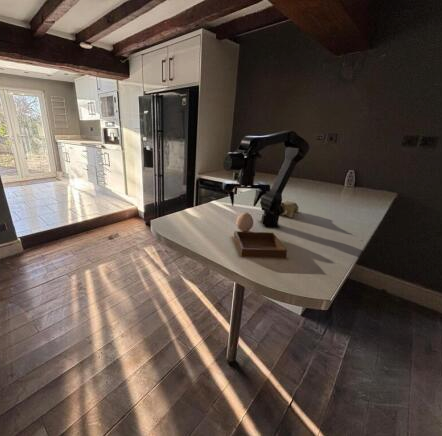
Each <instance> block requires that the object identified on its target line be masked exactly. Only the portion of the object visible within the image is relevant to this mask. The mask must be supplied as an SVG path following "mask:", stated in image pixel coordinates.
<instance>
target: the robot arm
mask: <svg viewBox="0 0 442 436" xmlns="http://www.w3.org/2000/svg"><path fill="white" fill-rule="evenodd" d="M278 144H283V146H284V148H285V151H284V156H285V159H284V162H283V163H282V166H281V168H280V169H279V171H278V174H277V176H276V178H275V180H274V181H273V184H272V186H271V185H270V184H269V183H268V182H267V181H257V183H254V182H255V176H256V168H257V161H258V159H261V158H262V157H263V156H262V155H261V154H260V153H259V152H261V151H263V150H264V149H265V148H267V147H270V146H274V145H278ZM309 150H310V144H309V142H308V141H307V140H306V139H305V138H303V137H302V136H301V135H299V134H298V133H297V132H296V131H294V130H291V129H285V130H282V131H278V132H274V133H270V134H265V135H245V136H244V137H243V138H242V140H241V142H240V143H239V145H238V147H237V148H236V150H235V151H234V152H227V154H226V156H225V157H224V159H223V161H222V166H223V169H224V171H226V172H230V171H239V172H233V175H232V180H233V181H236V183H234V182H233V181H232V180H224V181H223V182H222V184H221V185H222V186H221V188H222V190H223V191H225V192H226V193H227V194H228V195H229V199H230V203H231V206H232V207H234V205H235V204H234V203H235V191H234V189H246V190H247V189H249V190H251V189H252V190H253V189H254V190H255V195H254V200H253V207H256V205H257V204H258V203H259V204H260V207H261V211H263V213H262V214H261V220H260V223H261V224H262V225H263V227H265V228H279V227H280V226H279V219H280V216H282V215H283V214H284V213H283V212H284V209H283V208H282V207H281V203H283V192H284V190H285V189H286V186H287V184H288V182H289V180H290V178H291V176H292V174H293V172H294V170H295V168H296V166H297V164H298V163H299V162H300V161H302V160H304V158H305V157H306V156H307V154H308V152H309Z"/></svg>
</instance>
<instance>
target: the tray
mask: <svg viewBox="0 0 442 436" xmlns="http://www.w3.org/2000/svg"><path fill="white" fill-rule="evenodd" d="M233 240H234V242H235V245H236V247H237V249H238V252H239V254H240V255H239V256H240V257H243V258H244V257H245V258H265V259H266V258H267V259H269V258H270V259H286V258H287V253H288V250H287V249H286V247H285V246H284V245H283V244H282V242H281V241H280V240H279V238H278V237H277V236H276V234H275V233H274V232H269V231H268V232H264V231H262V232H261V231H241V230H239V231H238V230H237V231H236V230H234V232H233Z"/></svg>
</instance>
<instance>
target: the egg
mask: <svg viewBox="0 0 442 436" xmlns="http://www.w3.org/2000/svg"><path fill="white" fill-rule="evenodd" d="M235 223H236V227H237V229H238V230H239V231H241V232H249V231H250V230H251V229H252V228H253V226H254V219H253V216H252V215H251V214H250V213H249V212H242V213H240V214H239V215H238V216H237V218H236V222H235Z"/></svg>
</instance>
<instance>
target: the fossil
mask: <svg viewBox="0 0 442 436" xmlns="http://www.w3.org/2000/svg"><path fill="white" fill-rule="evenodd" d="M281 207H282V208H283V209H284V212H283V214H284V215H286V217H288V218H290V219H292V218H293V217H294V214H295V213H294V212H299V205H298V204H297V203H296V202H294V201H288V200H287V201H283V202H281Z"/></svg>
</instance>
